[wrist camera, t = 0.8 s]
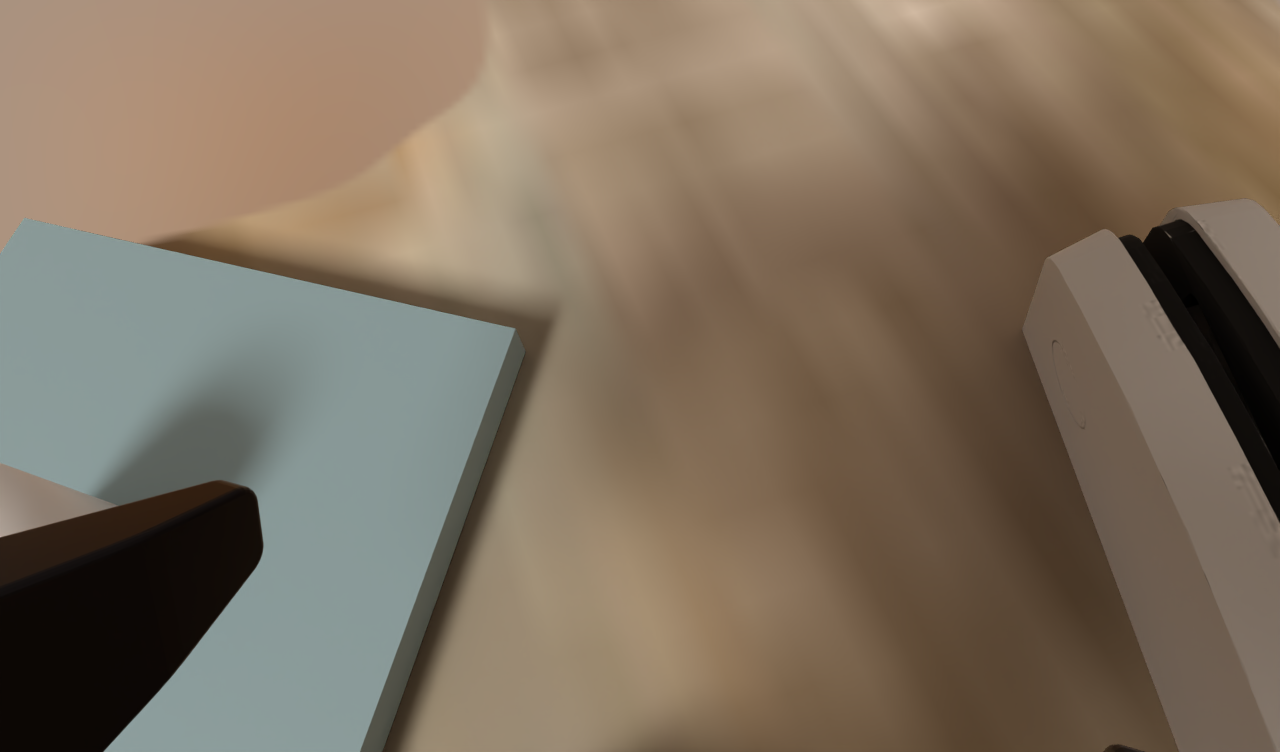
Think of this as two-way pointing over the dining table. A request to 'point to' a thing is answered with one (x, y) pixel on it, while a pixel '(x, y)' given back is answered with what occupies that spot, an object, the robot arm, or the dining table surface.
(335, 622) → the piston plate
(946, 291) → the dining table surface
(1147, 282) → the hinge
